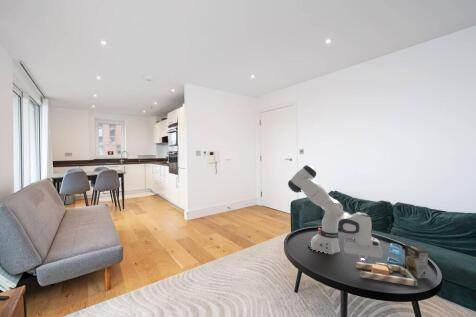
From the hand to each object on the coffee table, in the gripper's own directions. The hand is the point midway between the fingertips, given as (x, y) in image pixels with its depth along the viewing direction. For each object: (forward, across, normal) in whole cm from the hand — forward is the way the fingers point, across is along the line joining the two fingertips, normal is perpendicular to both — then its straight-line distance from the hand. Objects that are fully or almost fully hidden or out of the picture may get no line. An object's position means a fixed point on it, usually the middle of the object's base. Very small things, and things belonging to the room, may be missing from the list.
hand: (362, 261), depth 127 cm
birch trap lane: (+7, +12, +3) cm, 14 cm away
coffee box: (+7, +30, +9) cm, 32 cm away
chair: (+7, +24, +21) cm, 33 cm away
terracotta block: (+7, +9, +1) cm, 12 cm away
